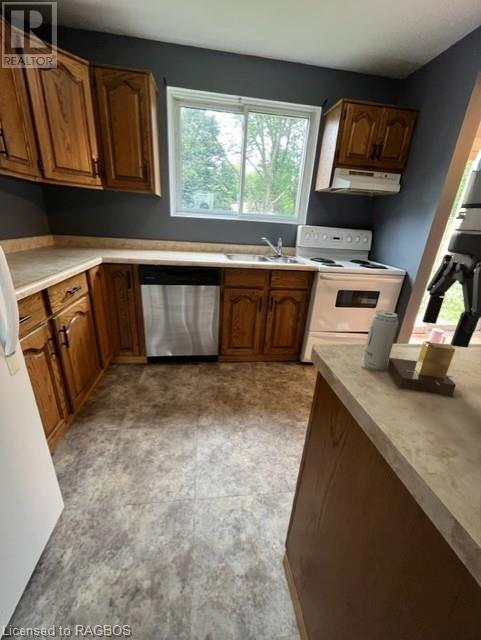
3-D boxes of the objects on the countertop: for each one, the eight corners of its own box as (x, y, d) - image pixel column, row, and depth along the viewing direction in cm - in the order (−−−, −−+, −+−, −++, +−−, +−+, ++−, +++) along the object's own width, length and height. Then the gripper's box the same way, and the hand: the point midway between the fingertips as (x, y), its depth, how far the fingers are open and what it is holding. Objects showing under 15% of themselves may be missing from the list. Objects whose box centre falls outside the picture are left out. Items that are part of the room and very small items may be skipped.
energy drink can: (359, 359, 76) (370, 308, 70) (382, 362, 75) (395, 311, 69) (364, 370, 70) (376, 316, 65) (389, 373, 69) (404, 318, 64)
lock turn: (439, 373, 65) (450, 343, 62) (445, 378, 62) (455, 348, 60) (414, 369, 66) (423, 340, 63) (418, 375, 63) (428, 345, 61)
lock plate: (435, 374, 70) (439, 363, 69) (459, 400, 60) (464, 388, 59) (386, 367, 72) (389, 356, 71) (401, 392, 62) (404, 380, 61)
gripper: (427, 230, 65) (404, 313, 72) (497, 234, 42) (452, 356, 49) (462, 232, 64) (435, 317, 71) (554, 238, 41) (499, 362, 48)
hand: (442, 333), depth 60 cm, fingers open, 13 cm apart
